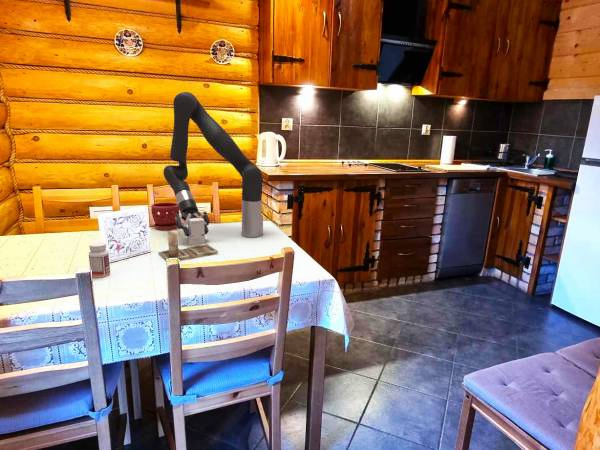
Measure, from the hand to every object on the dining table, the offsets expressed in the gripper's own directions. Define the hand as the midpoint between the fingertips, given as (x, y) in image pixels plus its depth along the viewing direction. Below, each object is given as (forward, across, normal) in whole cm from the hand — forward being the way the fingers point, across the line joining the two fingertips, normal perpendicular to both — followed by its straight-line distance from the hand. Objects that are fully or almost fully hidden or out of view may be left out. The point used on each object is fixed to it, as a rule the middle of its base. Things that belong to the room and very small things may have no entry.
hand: (197, 234), depth 174 cm
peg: (+10, -14, -3) cm, 17 cm away
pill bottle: (+12, -41, -4) cm, 43 cm away
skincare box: (+3, 0, +5) cm, 6 cm away
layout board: (+10, -8, -2) cm, 13 cm away
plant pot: (-22, -1, +30) cm, 37 cm away
